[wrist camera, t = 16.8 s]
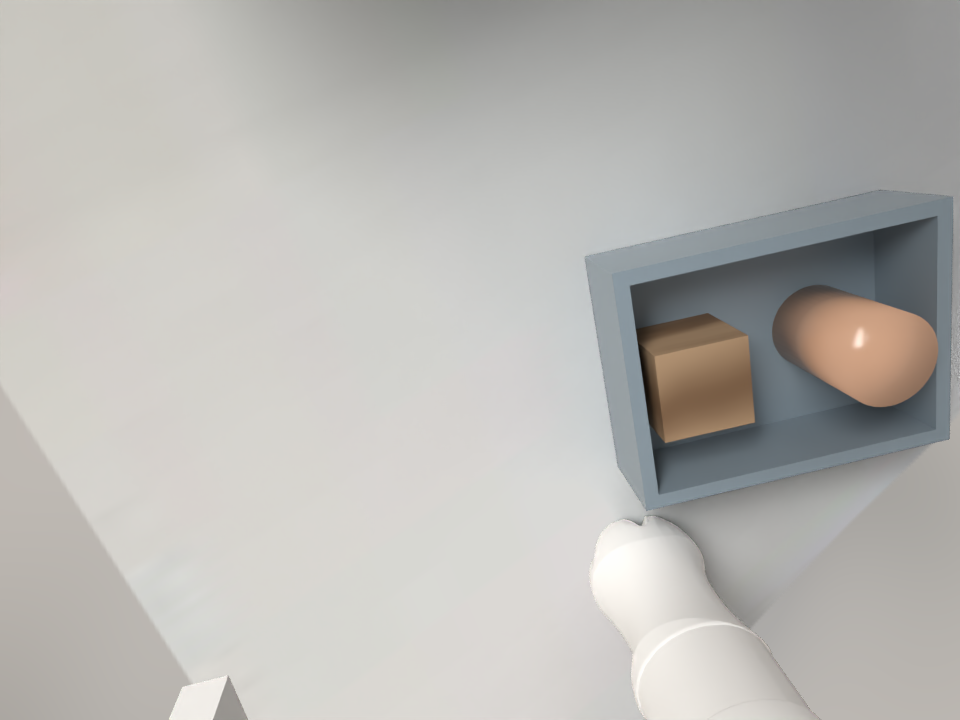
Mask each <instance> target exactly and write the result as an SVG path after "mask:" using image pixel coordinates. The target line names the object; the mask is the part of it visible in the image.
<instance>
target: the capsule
mask: <svg viewBox="0 0 960 720" xmlns="http://www.w3.org/2000/svg"><path fill="white" fill-rule="evenodd" d="M772 338H773V343H774V346H775V348H776V350H777V351H778V353H779V354H780V355H781V356H782V357H783V358H784V359H785V360H787V361H789V362H790V363H792V364H794V365H796V366H798V367H799V368H801V369H803V370H805V371H806V372H808V373H810V374H812V375H813V376H815V377H817V378H819V379H820V380H822V381H824V382H826V383H828V384H829V385H831V386H833V387H835V388H836V389H838V390H840V391H842V392H843V393H845V394H847V395H849V396H850V397H852V398H854V399H856V400H858V401H859V402H861V403H863V404H866V405H868V406H873V407H887V406H892V405H896V404H899V403H901V402H903V401H905V400H907V399H909V398H910V397H912V396H913V395H914V394H916V393H917V392H918V391H919V390H920V389H921V388H922V387H923V386H924V385H925V383H926V382H927V381H928V379H929V378H930V376H931V374H932V372H933V370H934V368H935V365H936V362H937V357H938V342H937V337H936V334H935V332H934V330H933V328H932V327H931V326H930V324H929V323H928V322H927V321H926V320H924V319H923V318H921V317H920V316H917V315H915V314H912V313H909V312H906V311H903V310H900V309H897V308H894V307H891V306H888V305H885V304H882V303H879V302H876V301H873V300H870V299H867V298H864V297H861V296H858V295H855V294H852V293H849V292H846V291H843V290H840V289H837V288H833V287H830V286H827V285H812V286H808V287H804V288H802V289H800V290H798V291H796V292H795V293H793V294H792V295H790V296H789V297H788V298H787V299H786V300H785V301H784V302H783V304H782V305H781V306H780V308H779V309H778V311H777V313H776V316H775V318H774V321H773V326H772Z"/></svg>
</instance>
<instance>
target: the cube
mask: <svg viewBox="0 0 960 720" xmlns="http://www.w3.org/2000/svg"><path fill="white" fill-rule="evenodd" d="M636 335H637V342H638V350H639V357H640V364H641V371H642V378H643V385H644V393H645V400H646V407H647V414H648V421H649V424H650V426H651V427H652V428H653V429H654V430H655V431H656V433H657V434H658V435H659V436H660V437H661V438H662V440H663V441H664V442H665V443H667V442H672V441H676V440H681V439H685V438H689V437H694V436H698V435H702V434H707V433H711V432H716V431H720V430H724V429H729V428H733V427H738V426H742V425H746V424H751V423H755V416H754V404H753V391H752V378H751V365H750V353H749V340H748V335H746V334H745V333H743V332H741V331H739V330H738V329H736V328H734V327H732V326H730V325H729V324H727V323H725V322H723V321H721V320H720V319H718V318H716V317H714V316H712V315H711V314H709V313H706V314H701V315H697V316H692V317H688V318H683V319H679V320H674V321H670V322H665V323H661V324H656V325H652V326H647V327H643V328H638V329H636Z"/></svg>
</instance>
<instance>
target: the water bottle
mask: <svg viewBox="0 0 960 720" xmlns="http://www.w3.org/2000/svg"><path fill="white" fill-rule="evenodd" d="M589 580H590V585H591V590H592V593H593V596H594V599H595V601H596V603H597V605H598V607H599V609H600V610H601V611H602V613H603V614H604V615H605V616H606V617H607V618H608V619H609V620H610V621H611V622H612V623H613V625H614V626H615V627H616V628H617V630H618V631H619V632H620V633H621V635H622V636H623V638H624V639H625V641H626V642H627V644H628V645H629V647H630V649H631V651H632V654H633V658H632V666H631V681H632V688H633V693H634V697H635V700H636V703H637V706H638V708H639V710H640V712H641V714H642V715H643V716H644V717H645V718H646V720H820V719H819V718H818V717H817V716H816V715H815V714H814V713H813V712H812V711H811V710H810V708H809V707H808V705H807V704H806V703H805V701H804V700H803V698H802V697H801V696H800V694H799V693H798V691H797V690H796V689H795V687H794V686H793V684H792V683H791V682H790V680H789V679H788V677H787V676H786V674H785V673H784V672H783V670H782V669H781V667H780V666H779V664H778V663H777V662H776V660H775V659H774V658H773V656H772V653H771V650H770V648H769V647H768V645H766V643H765V642H764V641H763V640H762V639H761V638H760V637H759V636H758V635H756V634H755V633H754V632H753V631H751V630H750V629H749V628H748V627H747V626H745V625H744V624H743V623H742V622H741V621H740V620H739V619H738V618H737V617H736V616H735V615H734V614H733V613H732V612H731V611H730V610H729V609H728V608H727V607H726V606H725V604H724V603H723V602H722V601H721V599H720V598H719V597H718V595H717V594H716V593H715V591H714V589H713V588H712V586H711V584H710V583H709V581H708V579H707V577H706V574H705V563H704V559H703V555H702V553H701V551H700V549H699V548H698V547H697V545H696V544H695V543H694V541H693V540H692V539H691V538H690V537H689V536H688V535H687V534H686V533H685V532H684V531H682V530H681V529H680V528H679V527H677V526H676V525H674V524H673V523H671V522H669V521H667V520H665V519H663V518H659V517H656V516H645V517H644V520H643V523H642V526H640V525H637V524H635V523H634V522H632V521H630V520H626V519H621V520H619V521H615V522H613V523H611V524H610V525H609V526H607V527H606V528H605V529H604V530H603V531H602V533H601V534H600V536H599V538H598V541H597V543H596V547H595V556H594V559H593V560H592V561H591V564H590V569H589Z"/></svg>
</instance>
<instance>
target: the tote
mask: <svg viewBox="0 0 960 720" xmlns="http://www.w3.org/2000/svg"><path fill="white" fill-rule="evenodd" d="M952 246H953V196H944V195H932V194H921V193H910V192H898V191H887V190H878V191H874V192H869V193H865V194H860V195H856V196H851V197H847V198H843V199H838V200H834V201H829V202H825V203H820V204H816V205H812V206H807V207H803V208H798V209H794V210H789V211H785V212H780V213H776V214H772V215H767V216H763V217H758V218H754V219H749V220H745V221H741V222H736V223H732V224H727V225H723V226H718V227H714V228H709V229H705V230H701V231H696V232H692V233H687V234H683V235H678V236H674V237H670V238H665V239H661V240H656V241H652V242H647V243H643V244H638V245H634V246H630V247H625V248H621V249H616V250H612V251H607V252H603V253H599V254H594V255H590V256H585V262H586V269H587V275H588V281H589V287H590V294H591V300H592V306H593V313H594V319H595V325H596V332H597V338H598V344H599V350H600V357H601V363H602V369H603V376H604V382H605V388H606V394H607V401H608V407H609V413H610V420H611V426H612V432H613V438H614V445H615V451H616V457H617V464H618V467H619V469H620V470H621V472H622V473H623V475H624V477H625V478H626V480H627V481H628V483H629V484H630V486H631V487H632V489H633V491H634V492H635V494H636V495H637V497H638V498H639V500H640V501H641V503H642V504H643V506H644V508H645V509H646V511H648V510H652V509H656V508H661V507H665V506H669V505H673V504H678V503H682V502H686V501H690V500H695V499H699V498H703V497H707V496H711V495H716V494H720V493H724V492H728V491H733V490H737V489H741V488H745V487H749V486H754V485H758V484H762V483H766V482H771V481H775V480H779V479H783V478H788V477H792V476H796V475H800V474H804V473H809V472H813V471H817V470H821V469H826V468H830V467H834V466H838V465H842V464H847V463H851V462H855V461H859V460H864V459H868V458H872V457H876V456H881V455H885V454H889V453H893V452H897V451H902V450H906V449H910V448H914V447H919V446H923V445H927V444H931V443H935V442H939V441H943V440H948V439H949V438H950V376H951V311H952ZM812 285H827V286H830V287H833V288H837V289H840V290H843V291H846V292H849V293H852V294H855V295H858V296H861V297H864V298H867V299H870V300H873V301H876V302H879V303H882V304H885V305H888V306H891V307H894V308H897V309H900V310H903V311H906V312H909V313H912V314H915V315H917V316H920V317H921V318H923V319H924V320H926V321H927V322H928V323H929V324H930V326H931V327H932V328H933V330H934V332H935V334H936V337H937V342H938V357H937V362H936V365H935V368H934V370H933V372H932V374H931V376H930V378H929V379H928V381H927V382H926V383H925V385H924V386H923V387H922V388H921V389H920V390H919V391H918V392H917V393H916V394H914V395H913V396H912V397H910V398H909V399H907V400H905V401H903V402H901V403H899V404H896V405H892V406H887V407H873V406H868V405H866V404H863V403H861V402H859V401H858V400H856V399H854V398H852V397H850V396H849V395H847V394H845V393H843V392H842V391H840V390H838V389H836V388H835V387H833V386H831V385H829V384H828V383H826V382H824V381H822V380H820V379H819V378H817V377H815V376H813V375H812V374H810V373H808V372H806V371H805V370H803V369H801V368H799V367H798V366H796V365H794V364H792V363H790V362H789V361H787V360H785V359H784V358H783V357H782V356H781V355H780V354H779V353H778V351H777V350H776V348H775V346H774V343H773V338H772V326H773V321H774V318H775V316H776V313H777V311H778V309H779V308H780V306H781V305H782V304H783V302H784V301H785V300H786V299H787V298H788V297H789V296H790V295H792V294H793V293H795V292H796V291H798V290H800V289H802V288H804V287H808V286H812ZM706 313H709V314H711V315H712V316H714V317H716V318H718V319H720V320H721V321H723V322H725V323H727V324H729V325H730V326H732V327H734V328H736V329H738V330H739V331H741V332H743V333H745V334H746V335H748V340H749V353H750V365H751V378H752V391H753V404H754V416H755V423H751V424H746V425H742V426H738V427H733V428H729V429H724V430H720V431H716V432H711V433H707V434H702V435H698V436H694V437H689V438H685V439H681V440H676V441H672V442H667V443H665V442H664V441H663V440H662V438H661V437H660V436H659V435H658V434H657V433H656V431H655V430H654V429H653V428H652V427H651V426H650V424H649V421H648V414H647V407H646V400H645V393H644V385H643V378H642V371H641V364H640V357H639V350H638V342H637V335H636V329H638V328H643V327H647V326H652V325H656V324H661V323H665V322H670V321H674V320H679V319H683V318H688V317H692V316H697V315H701V314H706Z"/></svg>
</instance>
